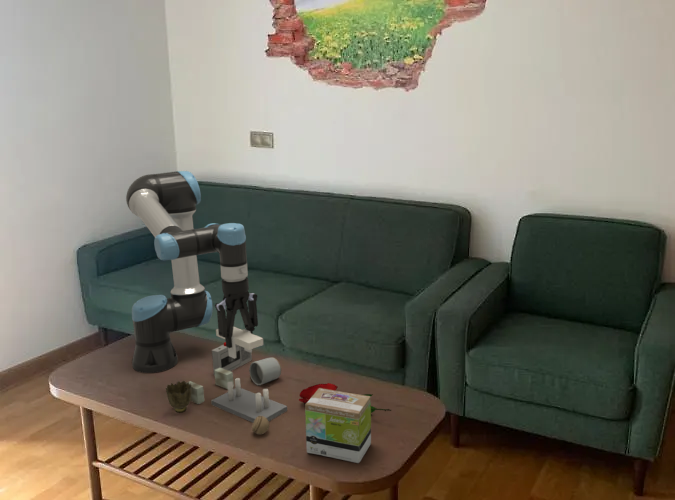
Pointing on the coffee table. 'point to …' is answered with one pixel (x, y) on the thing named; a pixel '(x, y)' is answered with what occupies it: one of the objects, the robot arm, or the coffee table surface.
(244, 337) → the shelf board
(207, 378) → the coffee table surface
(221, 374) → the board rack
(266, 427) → the walnut
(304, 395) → the flower
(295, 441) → the coffee table surface
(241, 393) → the peg stand
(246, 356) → the cassette player
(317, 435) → the tea box
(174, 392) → the cup
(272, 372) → the ceramic mug
